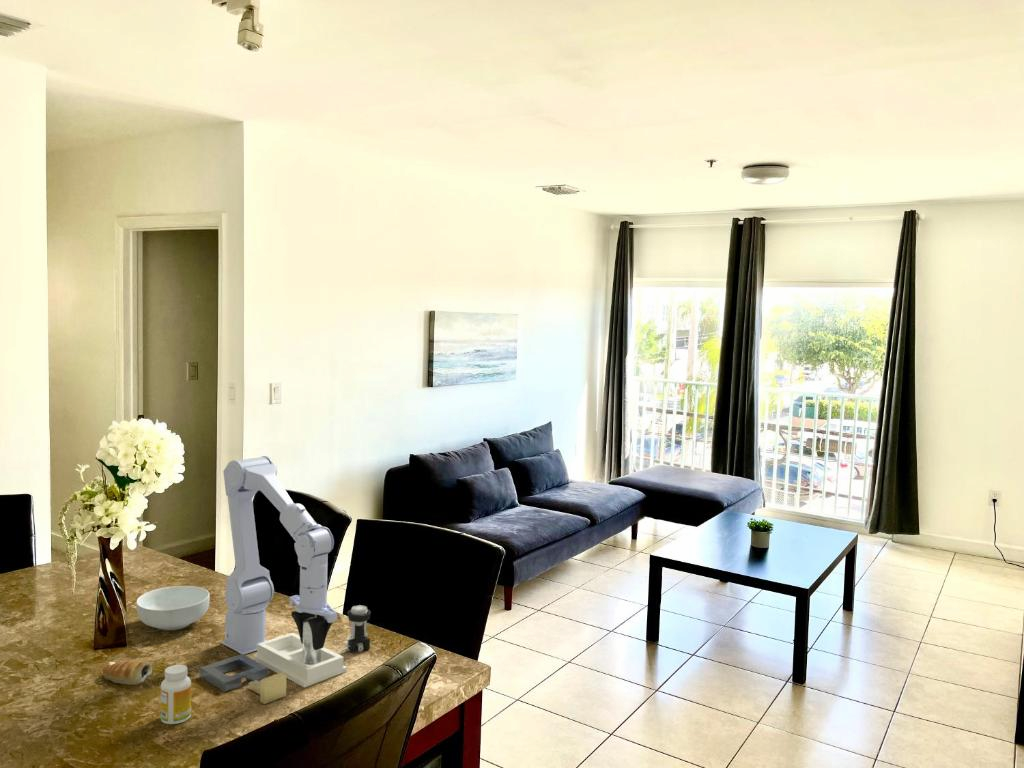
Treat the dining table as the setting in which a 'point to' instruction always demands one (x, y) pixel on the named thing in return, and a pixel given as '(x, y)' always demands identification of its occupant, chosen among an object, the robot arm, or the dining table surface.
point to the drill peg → (309, 646)
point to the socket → (224, 682)
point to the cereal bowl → (172, 606)
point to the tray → (298, 660)
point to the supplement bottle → (175, 695)
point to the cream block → (270, 687)
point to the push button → (358, 629)
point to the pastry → (128, 672)
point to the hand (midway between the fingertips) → (312, 645)
